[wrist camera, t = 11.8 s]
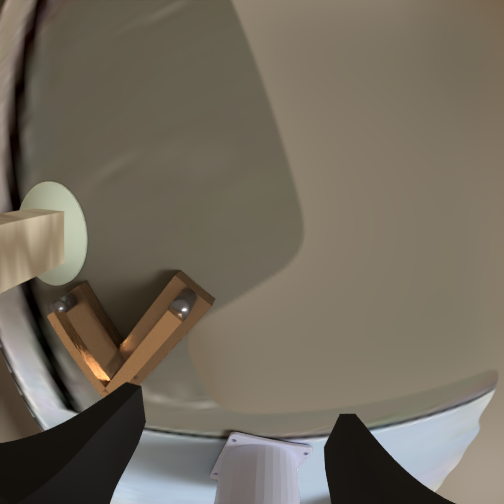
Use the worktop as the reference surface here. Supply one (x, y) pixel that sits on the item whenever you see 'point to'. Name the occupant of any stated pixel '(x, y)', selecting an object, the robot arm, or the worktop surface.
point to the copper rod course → (139, 340)
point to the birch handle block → (29, 244)
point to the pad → (74, 228)
